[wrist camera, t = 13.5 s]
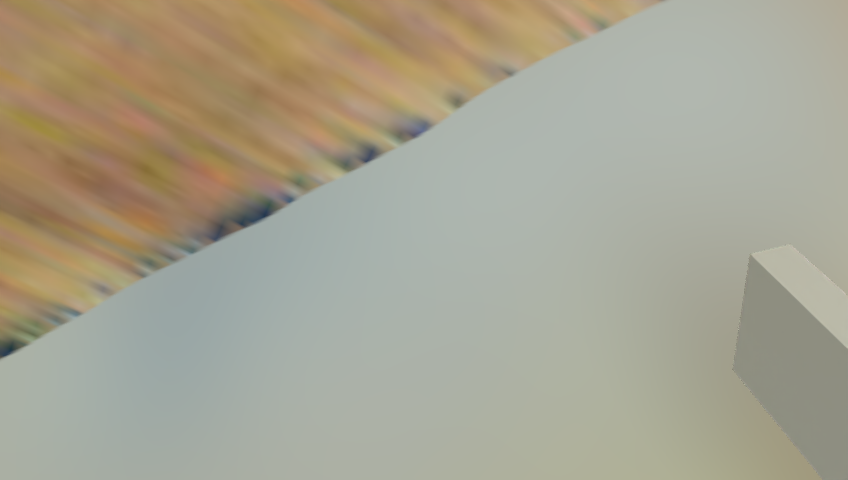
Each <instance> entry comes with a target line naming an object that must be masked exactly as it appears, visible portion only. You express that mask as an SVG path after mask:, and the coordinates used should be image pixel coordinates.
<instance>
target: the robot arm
mask: <svg viewBox="0 0 848 480" xmlns="http://www.w3.org/2000/svg"><path fill="white" fill-rule="evenodd" d="M733 371H734V372H735V373H736V374H737V376H738V377H739V378H740V379H741V381H742V382H743V383H744V384H745V385H746V387H747V388H748V389H749V390H750V392H751V393H752V394H753V395H754V396H755V398H756V399H757V400H758V401H759V403H760V404H761V405H762V406H763V407H764V409H765V410H766V411H767V412H768V413H769V415H770V416H771V417H772V418H773V420H774V421H775V422H776V423H777V425H778V426H779V427H780V428H781V429H782V431H783V432H784V433H785V434H786V436H787V437H788V438H789V439H790V440H791V442H792V443H793V444H794V445H795V446H796V447H797V449H798V450H799V451H800V453H801V454H802V455H803V456H804V457H805V459H806V460H807V461H808V462H809V464H810V465H811V466H812V467H813V469H814V470H815V471H816V472H817V473H818V475H819V476H820V477H821V478H822V479H823V480H848V295H847V294H845V292H843V291H842V290H841V289H840V288H839V287H838V286H837V285H836V284H834V283H833V282H832V281H831V280H830V279H829V278H828V277H827V276H825V275H824V274H823V273H822V272H821V271H820V270H819V269H817V268H816V267H815V266H814V265H813V264H812V263H811V262H810V261H809V260H807V259H806V258H805V257H804V256H803V255H802V254H801V253H800V252H798V251H797V250H796V249H795V248H794V247H793V246H792V245H790V244H789V245H785V246H781V247H777V248H773V249H768V250H764V251H760V252H756V253H752V254H750V257H749V263H748V270H747V277H746V283H745V291H744V297H743V303H742V311H741V317H740V323H739V330H738V337H737V343H736V350H735V357H734V364H733Z"/></svg>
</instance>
